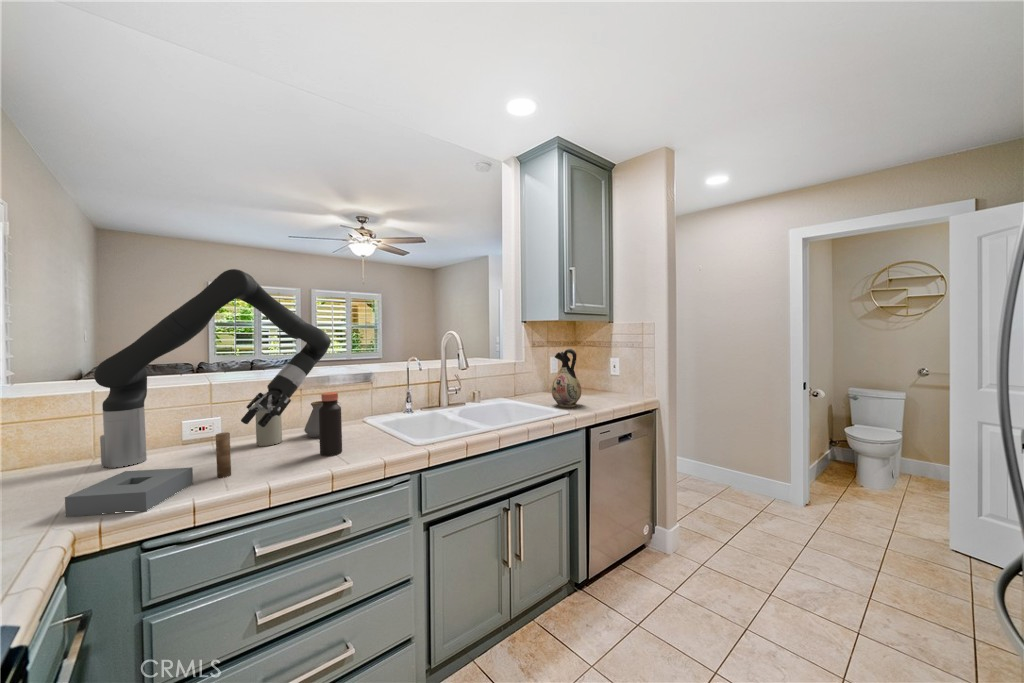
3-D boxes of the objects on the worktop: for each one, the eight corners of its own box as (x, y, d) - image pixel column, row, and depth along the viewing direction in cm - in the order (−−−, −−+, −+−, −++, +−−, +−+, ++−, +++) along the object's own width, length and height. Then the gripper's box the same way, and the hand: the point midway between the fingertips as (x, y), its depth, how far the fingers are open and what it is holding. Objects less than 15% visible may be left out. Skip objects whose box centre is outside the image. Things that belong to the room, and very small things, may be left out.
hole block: (65, 517, 87) (64, 497, 87) (125, 488, 103) (124, 471, 103) (146, 511, 89) (145, 492, 89) (193, 483, 105) (192, 467, 105)
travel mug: (267, 447, 137) (265, 396, 136) (251, 445, 140) (249, 395, 139) (287, 441, 144) (285, 393, 144) (271, 439, 147) (270, 392, 147)
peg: (214, 478, 109) (212, 435, 108) (221, 474, 112) (219, 432, 112) (227, 477, 109) (225, 435, 109) (233, 473, 113) (232, 432, 112)
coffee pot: (299, 435, 152) (298, 397, 152) (329, 429, 161) (328, 393, 160) (322, 446, 138) (321, 404, 138) (354, 439, 147) (353, 399, 146)
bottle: (315, 455, 128) (313, 394, 127) (331, 449, 134) (330, 391, 134) (330, 457, 126) (329, 395, 125) (346, 451, 132) (345, 392, 131)
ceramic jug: (545, 406, 203) (545, 349, 202) (561, 402, 215) (561, 347, 214) (574, 410, 192) (573, 350, 191) (589, 405, 204) (589, 348, 203)
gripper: (265, 373, 128) (228, 415, 118) (293, 375, 122) (256, 419, 112) (281, 387, 133) (247, 428, 123) (309, 389, 127) (275, 433, 117)
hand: (251, 424), depth 117 cm, fingers open, 8 cm apart
